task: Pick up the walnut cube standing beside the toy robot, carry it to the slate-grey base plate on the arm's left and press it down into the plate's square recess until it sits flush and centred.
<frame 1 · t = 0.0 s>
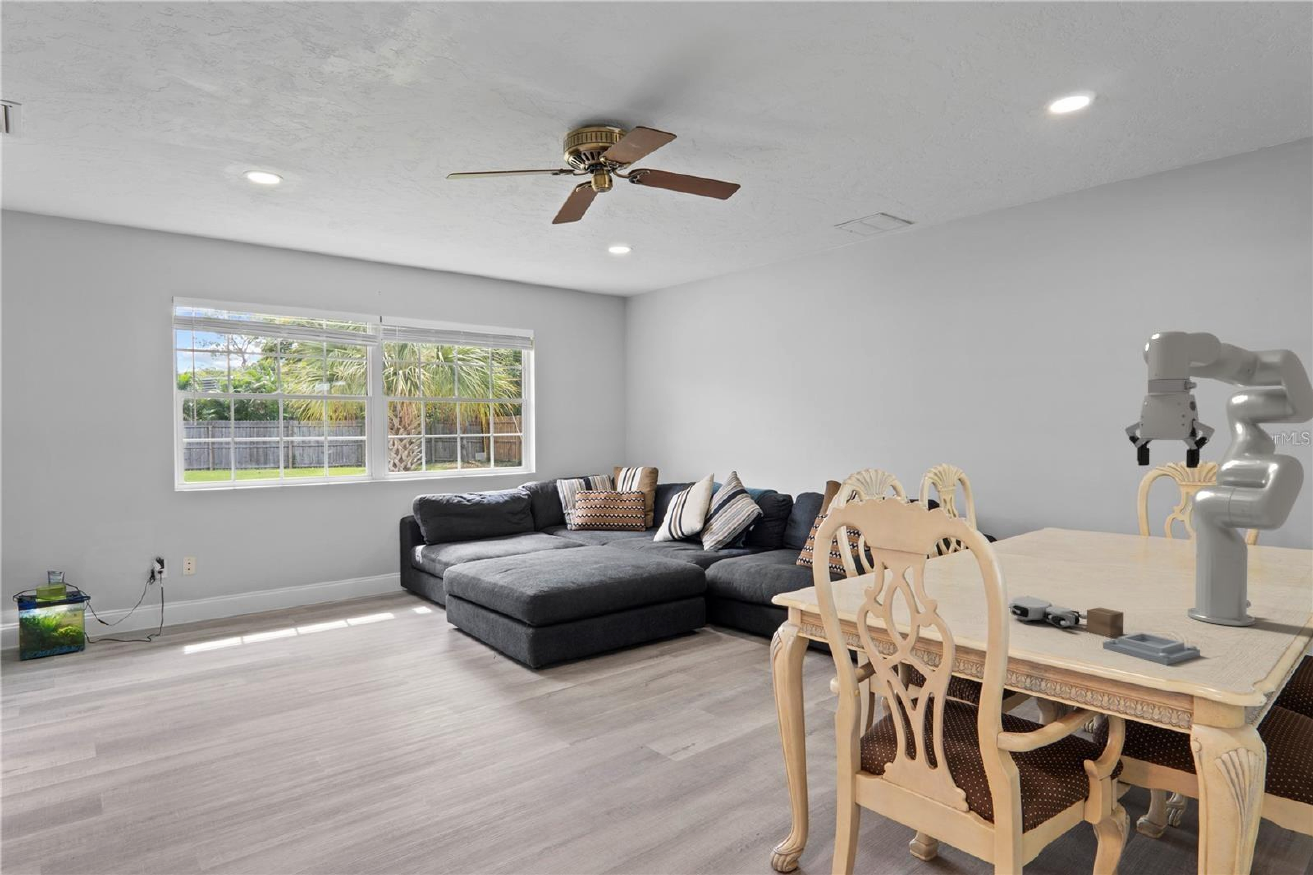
hand: (1167, 466, 158), 37 cm above the table, tool pointing down, fingers open, 9 cm apart
robot toy: (1044, 623, 168), on the table
walnut cube: (1104, 633, 159), on the table
base plate: (1150, 651, 146), on the table
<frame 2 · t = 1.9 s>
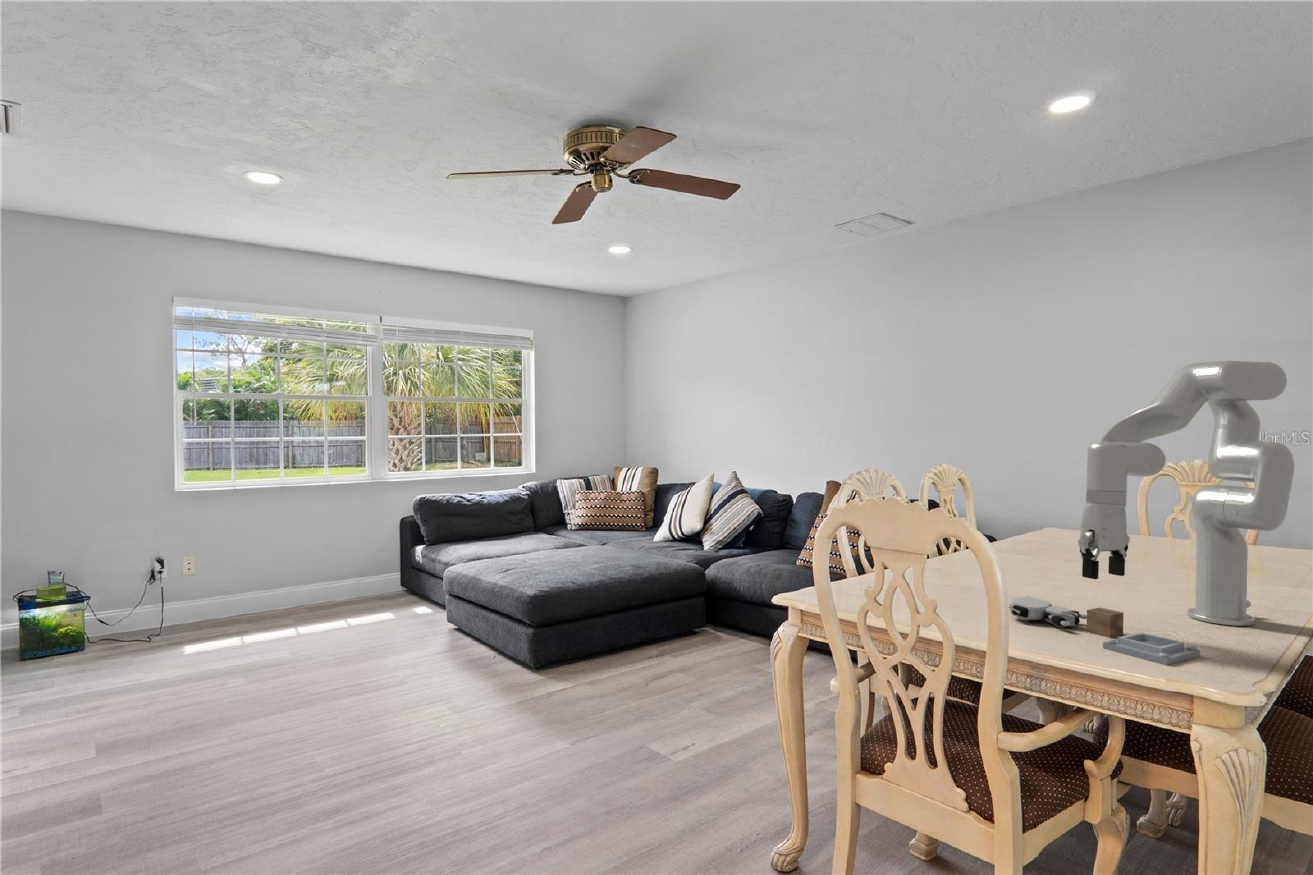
hand: (1103, 576, 158), 13 cm above the table, tool pointing down, fingers open, 9 cm apart
nothing on the table moved.
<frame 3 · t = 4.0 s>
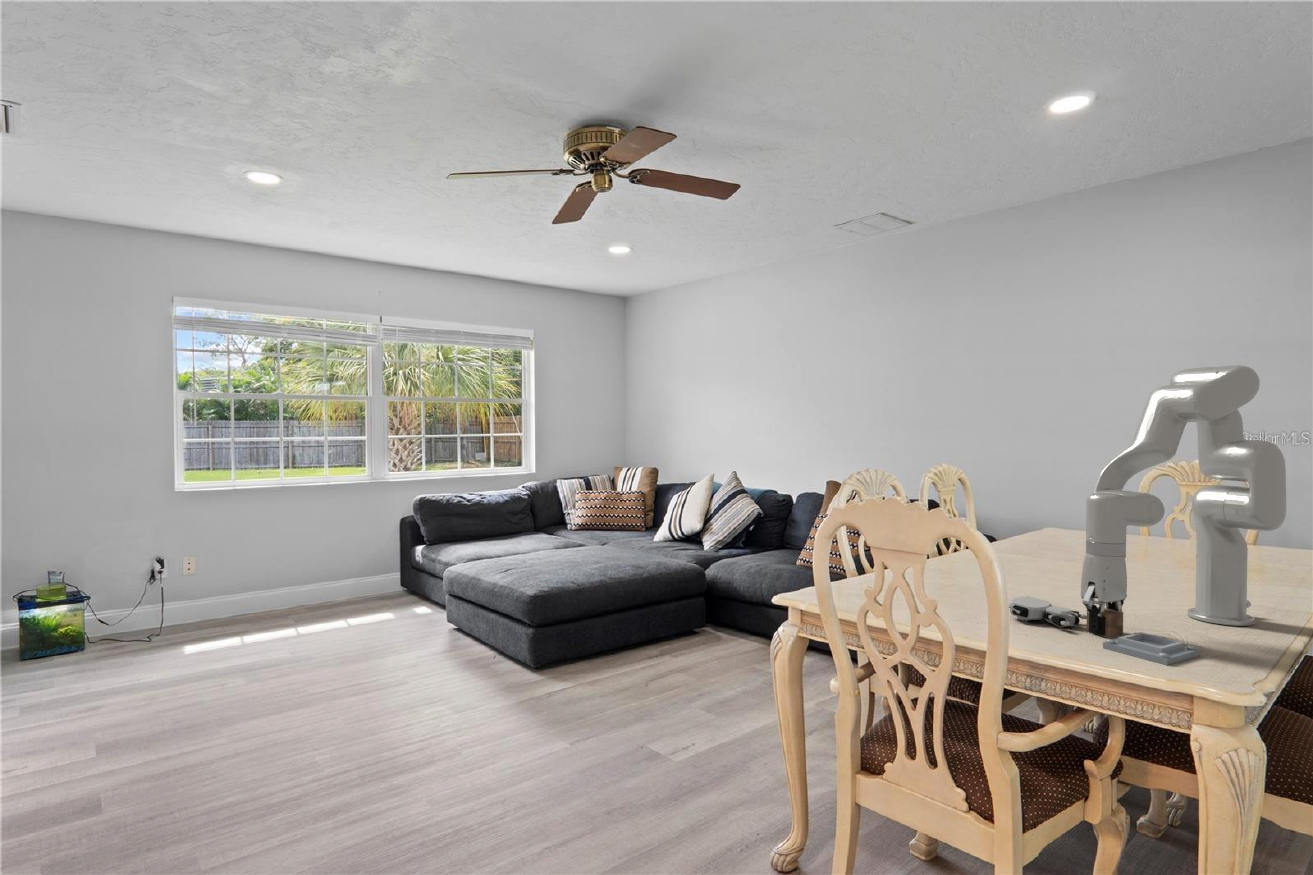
hand: (1104, 631, 159), 0 cm above the table, tool pointing down, fingers closed on walnut cube, 5 cm apart
walnut cube: (1104, 633, 159), on the table, touching gripper
everything else where it was.
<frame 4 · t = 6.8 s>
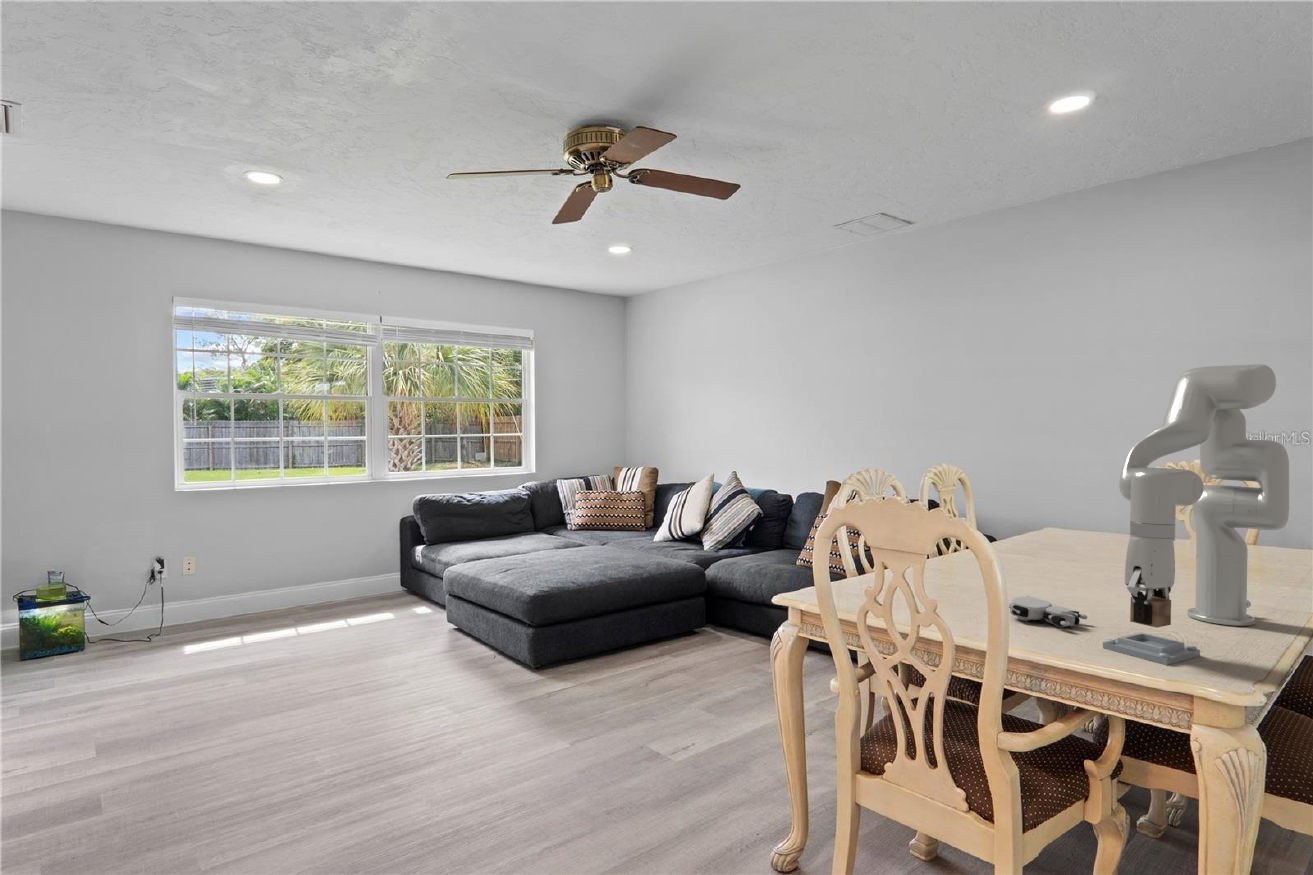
hand: (1150, 620, 145), 6 cm above the table, tool pointing down, fingers closed on walnut cube, 5 cm apart
walnut cube: (1150, 623, 145), point 6 cm above the table, touching gripper
everything else where it was.
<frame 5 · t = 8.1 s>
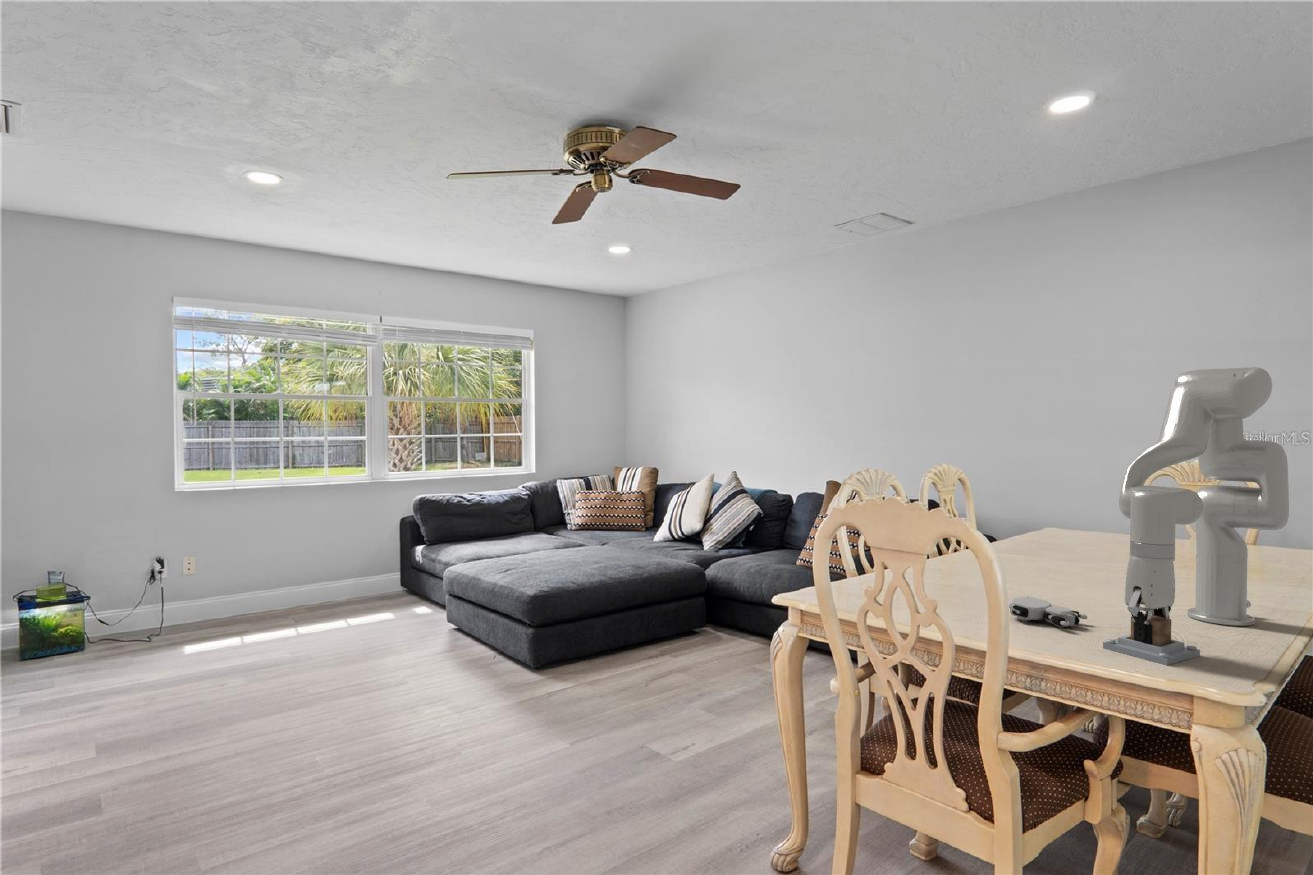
hand: (1150, 639, 146), 2 cm above the table, tool pointing down, fingers closed on walnut cube, 5 cm apart
walnut cube: (1150, 642, 146), point 2 cm above the table, touching gripper
everything else where it was.
when the fingers open (2 cm above the table, at t = 9.6 s): walnut cube stays where it is, resting on base plate.
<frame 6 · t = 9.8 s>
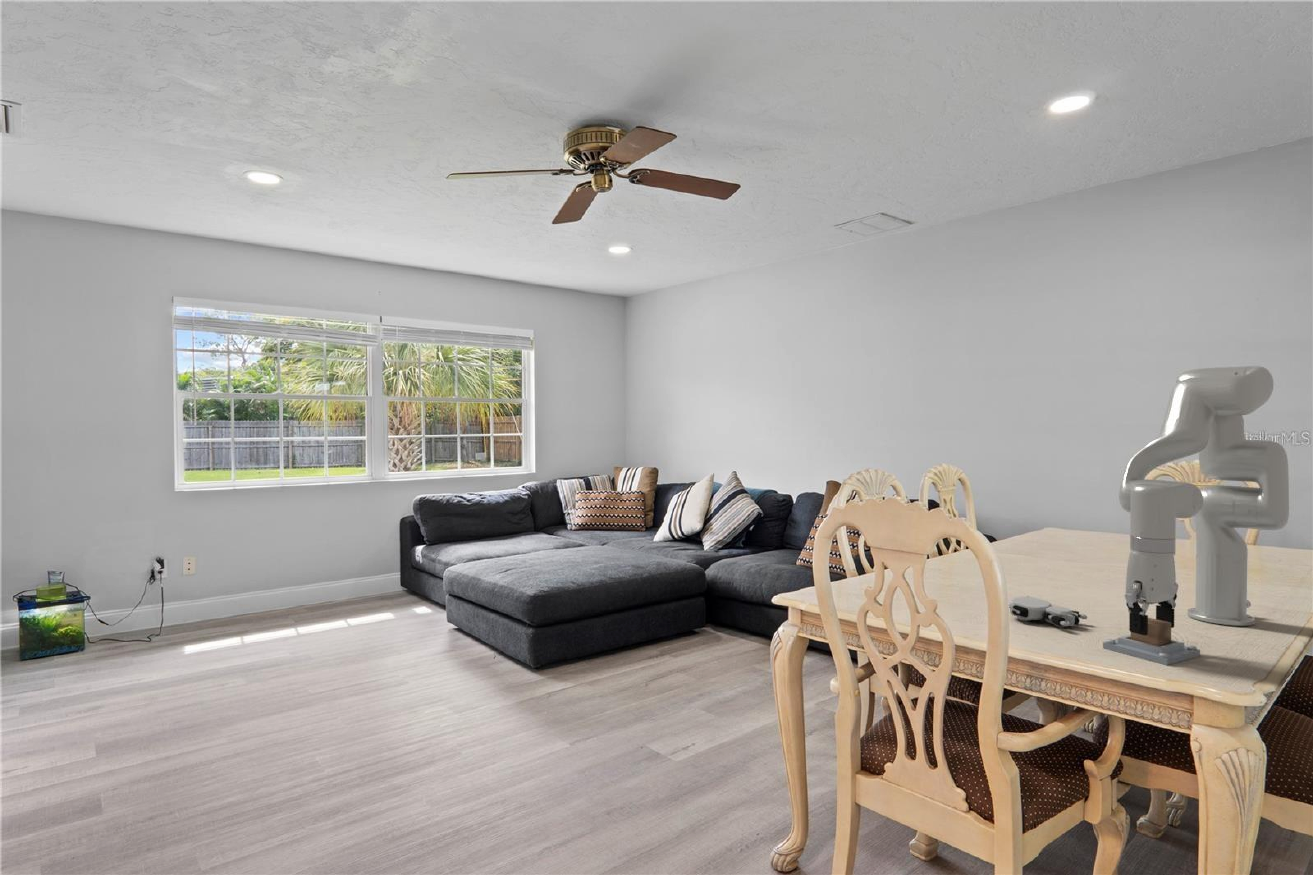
hand: (1151, 629, 146), 4 cm above the table, tool pointing down, fingers open, 9 cm apart
walnut cube: (1150, 645, 146), point 1 cm above the table, touching base plate
everything else where it was.
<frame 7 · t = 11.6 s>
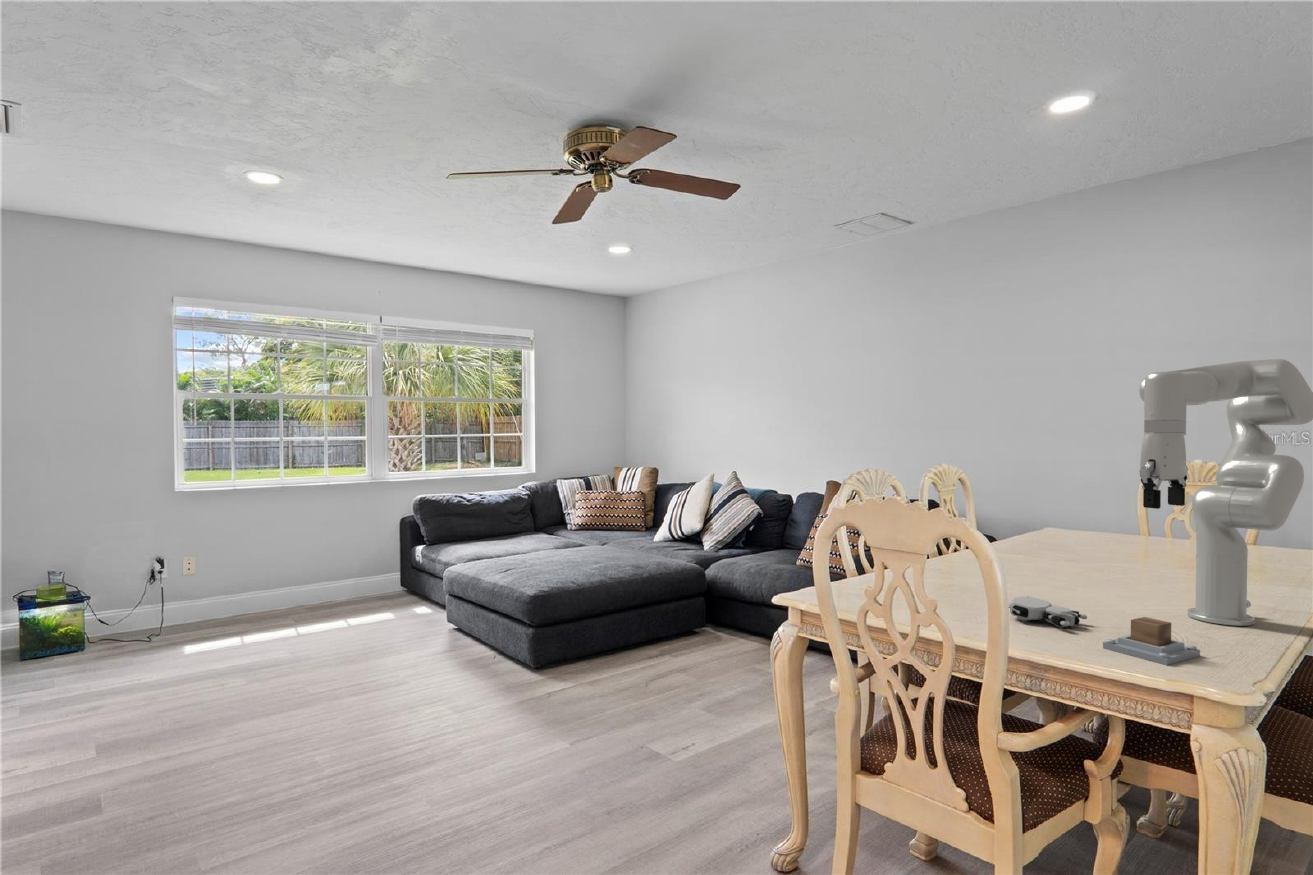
hand: (1164, 506, 158), 28 cm above the table, tool pointing down, fingers open, 9 cm apart
nothing on the table moved.
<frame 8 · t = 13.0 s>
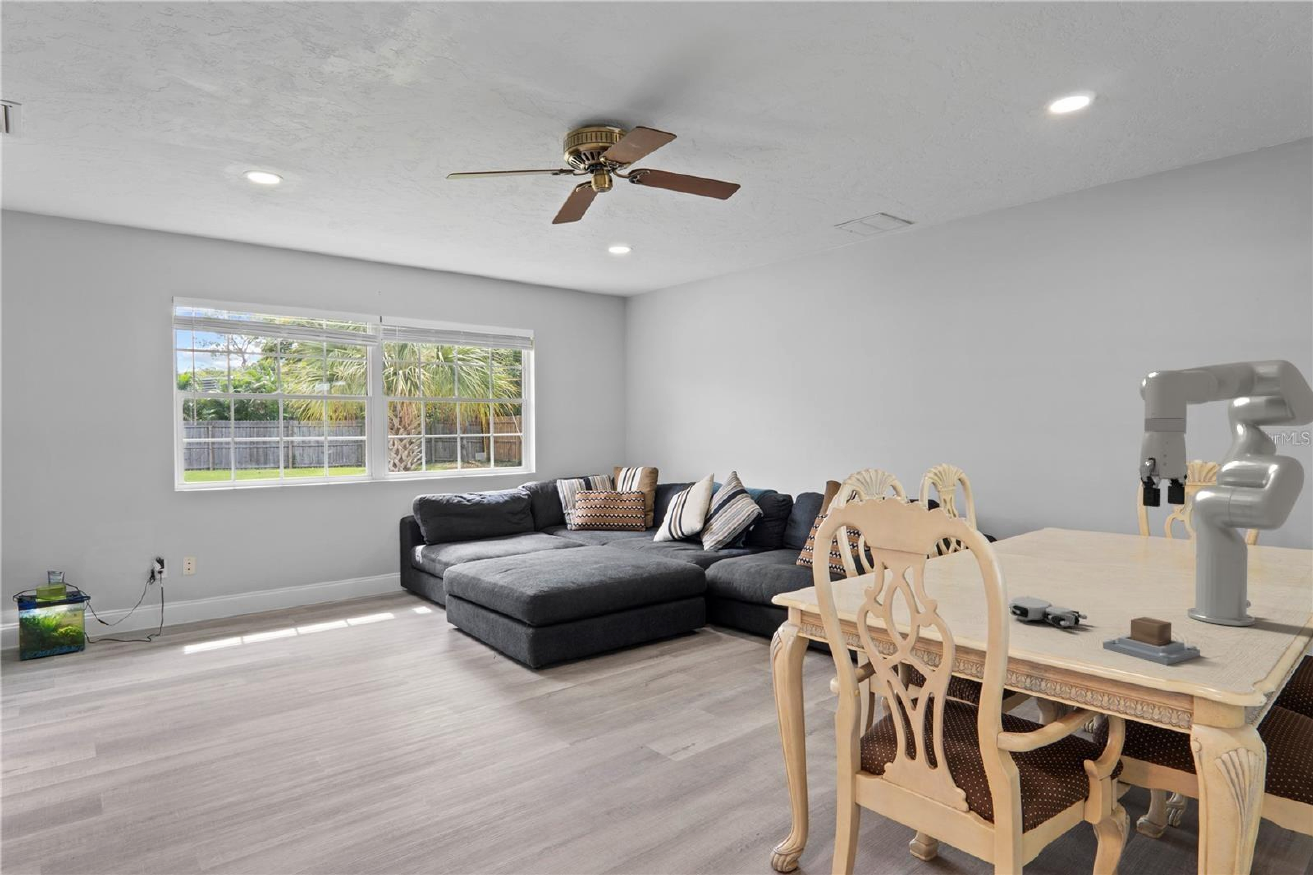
hand: (1163, 505, 158), 28 cm above the table, tool pointing down, fingers open, 9 cm apart
nothing on the table moved.
at the end: walnut cube 0.0 cm off-centre on the base plate, point 1.2 cm above the base plate's base; walnut cube tilted 0°; the gripper is holding nothing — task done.
